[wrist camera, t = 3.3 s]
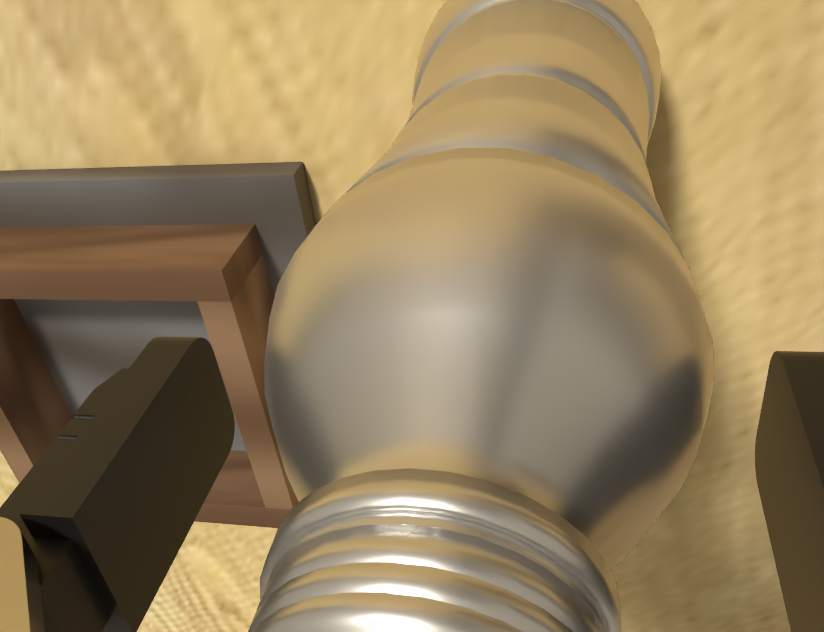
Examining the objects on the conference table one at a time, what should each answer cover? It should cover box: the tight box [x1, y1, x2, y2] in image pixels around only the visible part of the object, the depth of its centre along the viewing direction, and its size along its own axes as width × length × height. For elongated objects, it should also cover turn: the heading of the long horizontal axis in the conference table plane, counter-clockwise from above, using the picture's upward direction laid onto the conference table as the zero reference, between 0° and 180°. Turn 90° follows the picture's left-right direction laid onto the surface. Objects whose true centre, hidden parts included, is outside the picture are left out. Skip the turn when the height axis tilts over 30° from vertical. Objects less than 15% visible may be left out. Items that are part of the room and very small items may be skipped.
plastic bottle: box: [248, 0, 715, 632], centre depth 15 cm, size 6×7×20 cm
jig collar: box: [0, 162, 316, 528], centre depth 31 cm, size 16×16×4 cm
